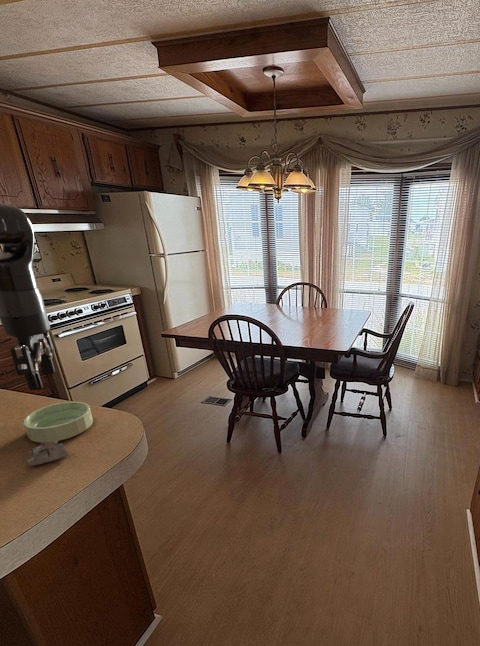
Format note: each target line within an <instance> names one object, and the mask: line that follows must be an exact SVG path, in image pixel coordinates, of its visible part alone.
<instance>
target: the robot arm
mask: <svg viewBox="0 0 480 646" xmlns="http://www.w3.org/2000/svg"><path fill="white" fill-rule="evenodd" d="M0 245H2V249H1V253H0V323H1V326H2V329H3V332H4V334H5V335H6V336H8V337H13V338H15V339H16V342H17V343H16V346H10V349H9V351H10V354H11V358H12V361H13V364H14V368H15V371H16V374H17V376H24V377H25V380H26V384H27V388H28V390H30V391H40V390H42V389H43V387H44V385H43V382H42V378H41V376H40V372H39V366H40V369H41V372H42V375H46V376H47V375H54V374H55V372H56V369H55V366H54V362H53V360H52V359H53V354H54V353H55V348H54V345H53V341H52V338H51V334H50V331H51V325H50V321H49V316H48V314H47V309H46V306H45V302H44V299H43V298H44V297H43V296H42V293H41V291H40V287H39V285H38V281H37V277H36V274H35V271H34V252H35V230H34V226H33V223H32V221H31V219H30V217H29V216H28V215H27V214H26V212H24V211H23V209H21V208H19V207H18V206H15V205H12V204H3V203H0Z"/></svg>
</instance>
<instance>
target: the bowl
mask: <svg viewBox="0 0 480 646" xmlns="http://www.w3.org/2000/svg"><path fill="white" fill-rule="evenodd" d="M93 422H94V418H93V415H92V411H91V407H90V405H89V404H88V403H86V402H83V401H63V402H58V403H53V404H50V405H46V406H43V407H41V408H39V409H37V410H34V411H32V412H31V413H29V414H28V415H26V416H25V418H24V420H23V427H24V430H25V432H26V435H27V438H28V439H29V440H31V442H35V443H43V442H44V443H45V442H54V441H58V442H60V441H63V440H68V439H70V438H72V437H75V436H77V435H80V434H82V433H83V432H85V431H87V430H88V429H89V428H90V427H91V426H93Z"/></svg>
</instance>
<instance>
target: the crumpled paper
mask: <svg viewBox="0 0 480 646" xmlns="http://www.w3.org/2000/svg"><path fill="white" fill-rule="evenodd" d="M58 442H59V441H54V442H39V443H40V445H38V446H36V447H32V450H29V451H28V453H30V454H32V455H33V456H32V457H31V458H30V459H27V464H28V467H33V466H39V465H42V464H47V463H50V462H53V461H57V460H60V459H62V458H65V457H68V456H69V451H68V449H67V448H66V447H65V445H64V444H62V443H58Z"/></svg>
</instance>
